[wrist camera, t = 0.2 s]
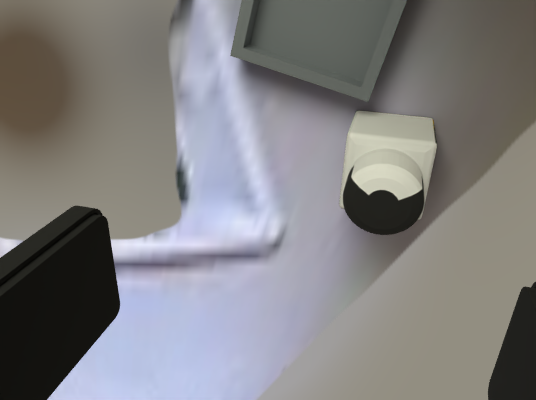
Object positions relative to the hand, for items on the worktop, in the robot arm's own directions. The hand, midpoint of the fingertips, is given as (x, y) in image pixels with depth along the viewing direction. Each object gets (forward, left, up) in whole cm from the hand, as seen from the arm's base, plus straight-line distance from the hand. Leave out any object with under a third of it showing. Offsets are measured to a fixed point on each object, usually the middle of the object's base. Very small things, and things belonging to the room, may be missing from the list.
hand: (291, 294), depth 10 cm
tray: (-2, -6, -35) cm, 36 cm away
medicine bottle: (+9, +4, -36) cm, 37 cm away
